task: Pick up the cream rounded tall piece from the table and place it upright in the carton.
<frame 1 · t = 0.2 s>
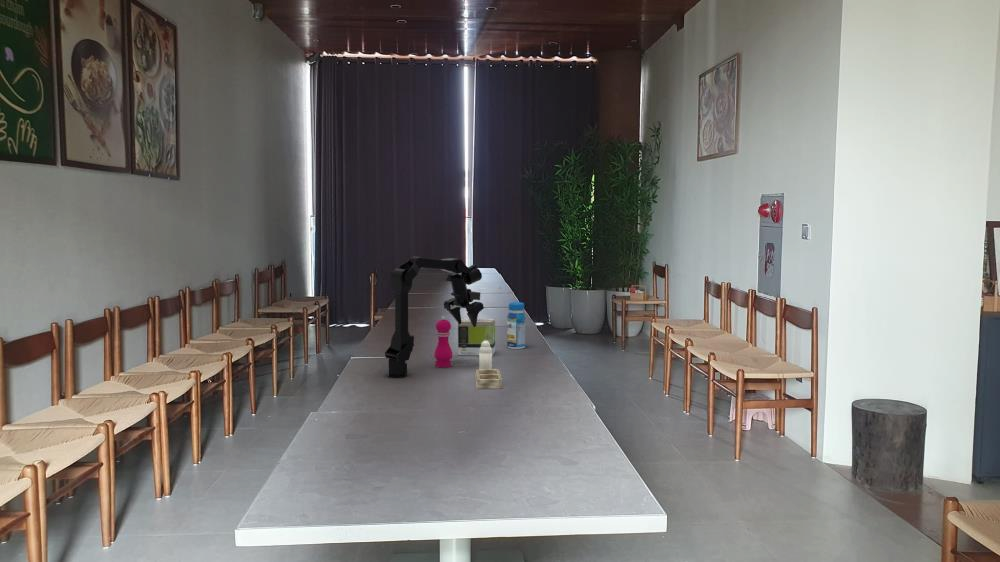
hand: (467, 325, 302), 15 cm above the table, tool tilted 15°, fingers open, 9 cm apart
tea box: (476, 354, 322), on the table
beverage bottle: (515, 347, 336), on the table
carton: (488, 382, 271), on the table
pepper mill: (443, 366, 298), on the table
cream rounded tall piece: (485, 374, 284), on the table
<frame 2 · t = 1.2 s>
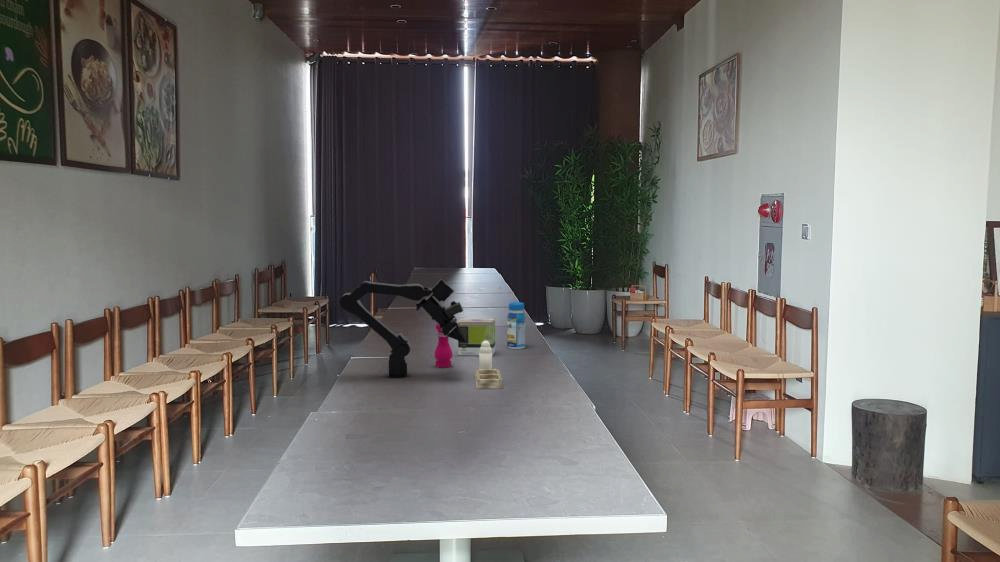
hand: (464, 339, 282), 13 cm above the table, tool tilted 45°, fingers open, 9 cm apart
nothing on the table moved.
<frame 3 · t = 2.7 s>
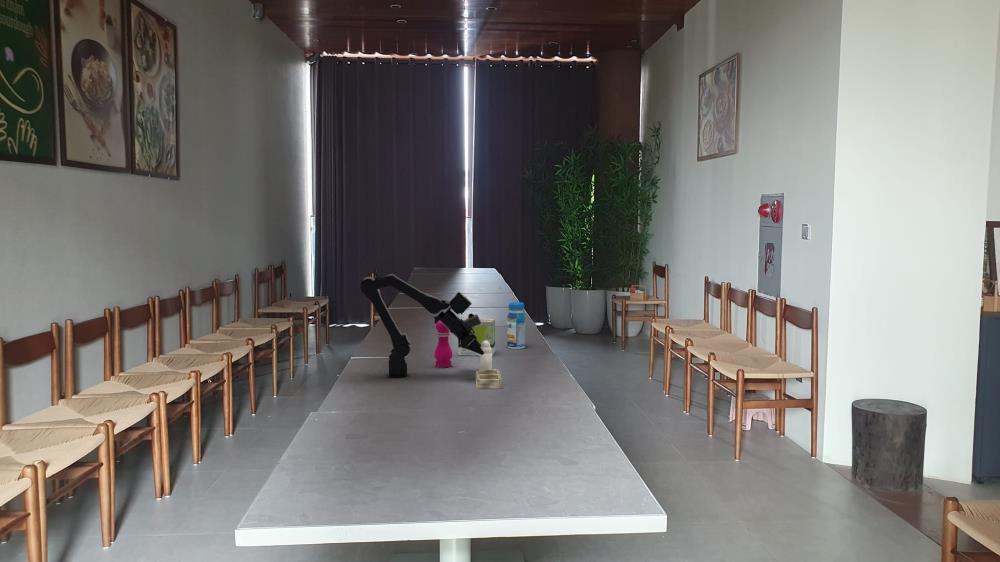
hand: (482, 351, 283), 9 cm above the table, tool tilted 45°, fingers open, 9 cm apart
nothing on the table moved.
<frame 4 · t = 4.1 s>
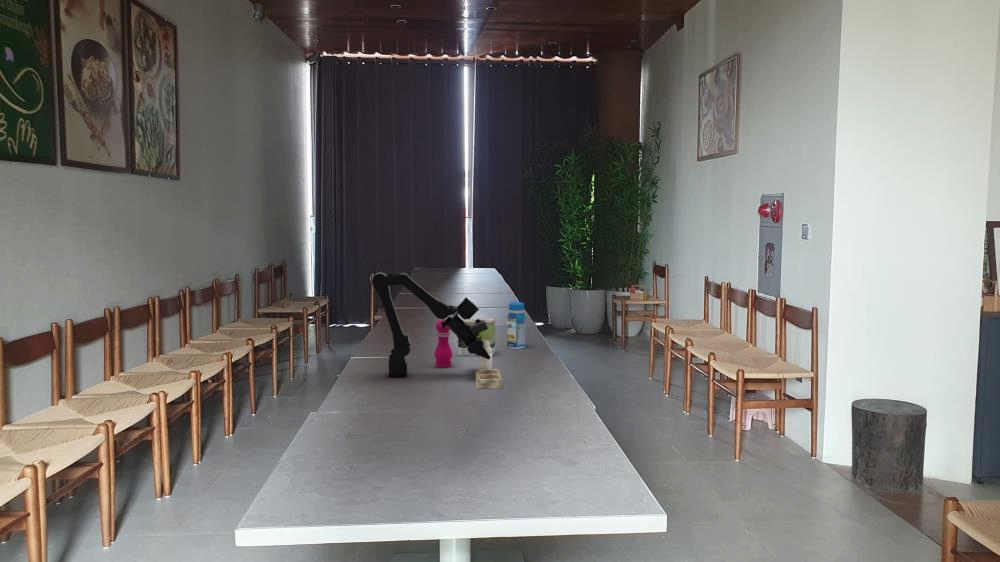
hand: (489, 357, 283), 7 cm above the table, tool tilted 45°, fingers closed on cream rounded tall piece, 5 cm apart
cream rounded tall piece: (485, 374, 284), on the table, touching gripper
everything else where it was.
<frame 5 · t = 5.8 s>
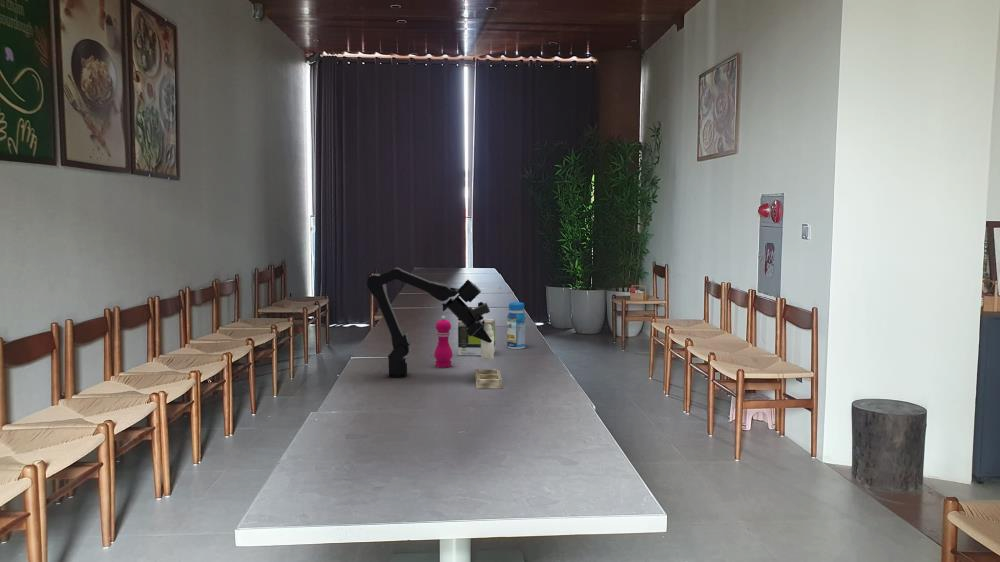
hand: (491, 340, 279), 14 cm above the table, tool tilted 45°, fingers closed on cream rounded tall piece, 5 cm apart
cream rounded tall piece: (487, 358, 280), point 7 cm above the table, touching gripper
everything else where it was.
when the fingers open (9 cm above the table, at t = 7.6 s): cream rounded tall piece drops 2 cm, resting on carton.
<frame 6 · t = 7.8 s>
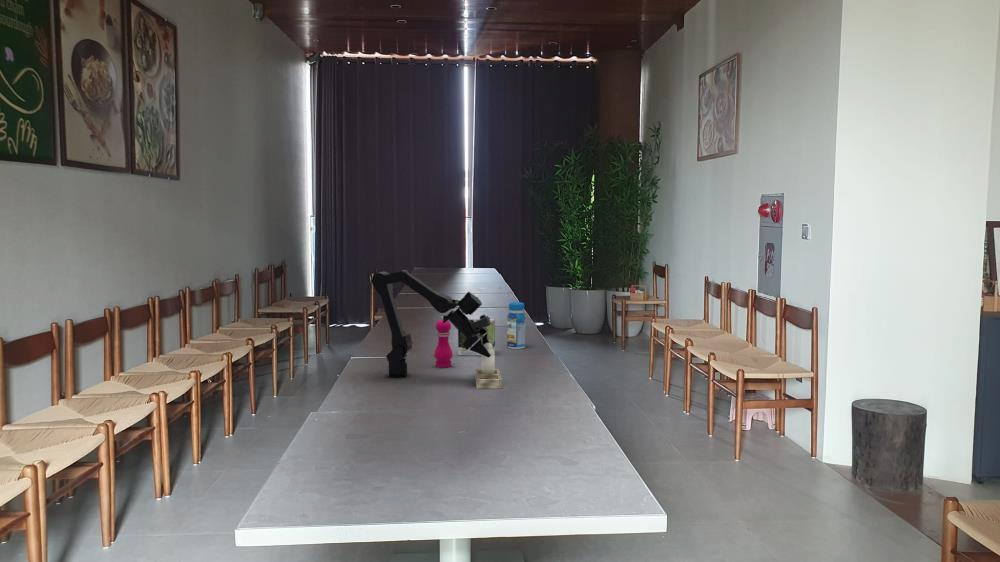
hand: (491, 354, 274), 10 cm above the table, tool tilted 45°, fingers open, 7 cm apart
cream rounded tall piece: (487, 377, 275), point 1 cm above the table, touching carton
everything else where it was.
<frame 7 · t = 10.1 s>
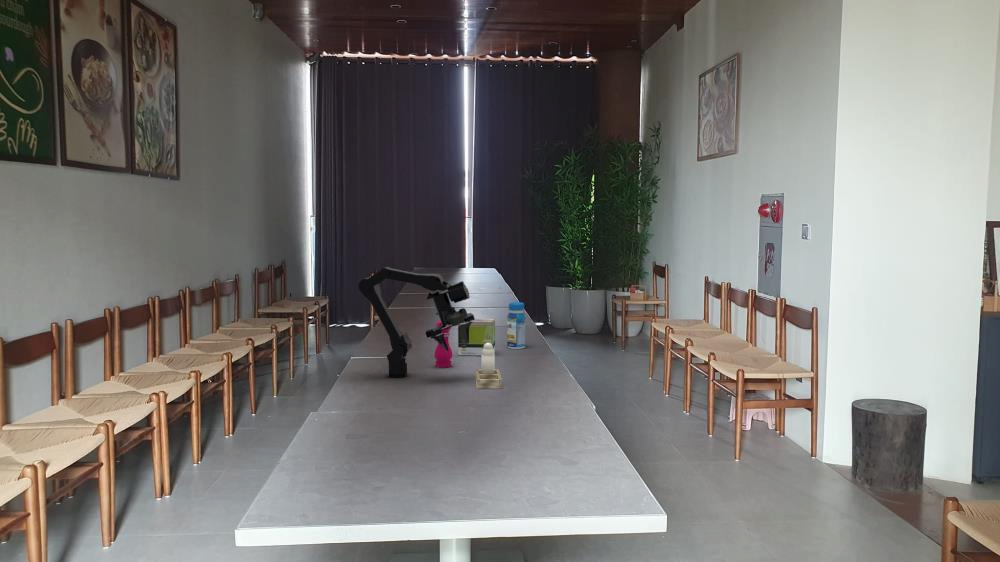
hand: (458, 346, 277), 12 cm above the table, tool tilted 20°, fingers open, 9 cm apart
nothing on the table moved.
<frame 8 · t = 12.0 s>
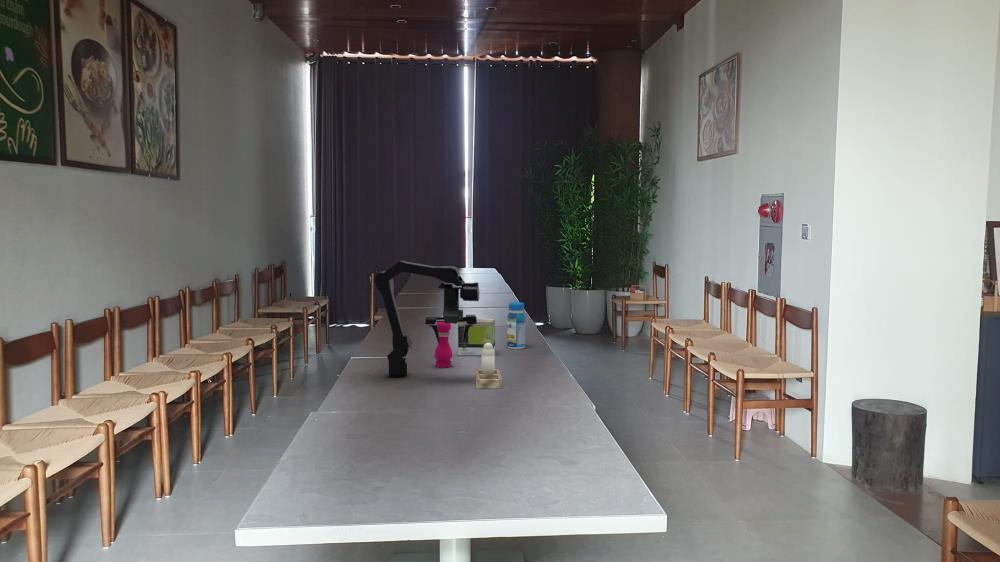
hand: (451, 342, 278), 13 cm above the table, tool pointing down, fingers open, 9 cm apart
nothing on the table moved.
at the end: cream rounded tall piece 0.0 cm from the target spot on the carton, point 1.0 cm above the carton's base; cream rounded tall piece tilted 0°; the gripper is holding nothing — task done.
